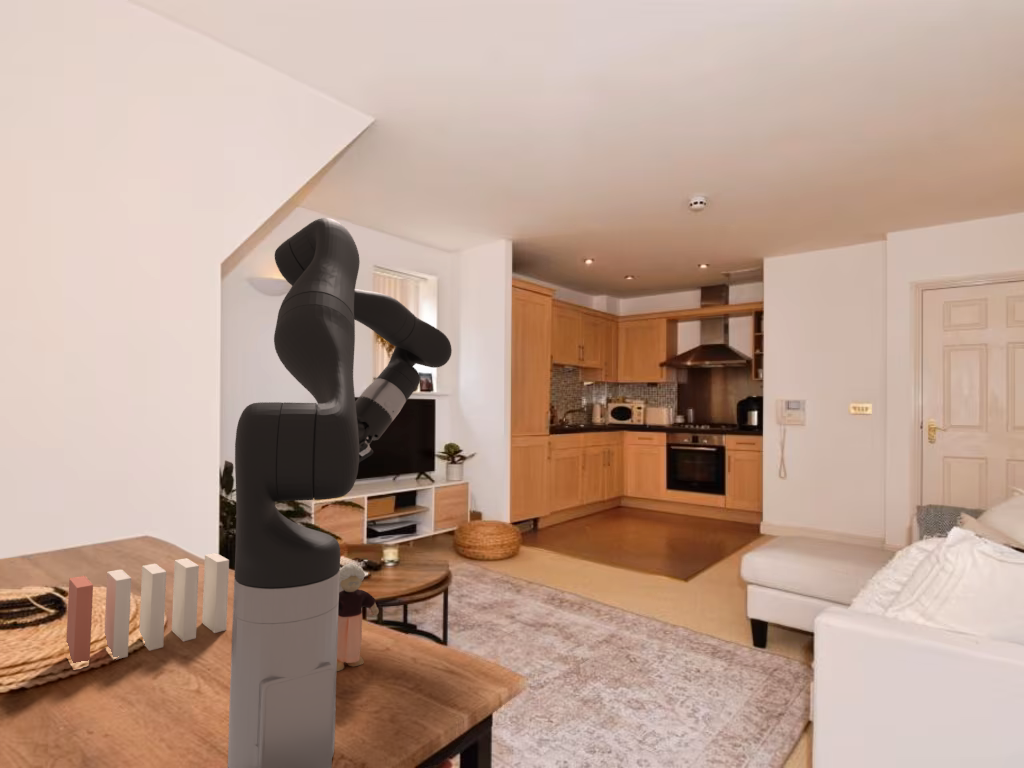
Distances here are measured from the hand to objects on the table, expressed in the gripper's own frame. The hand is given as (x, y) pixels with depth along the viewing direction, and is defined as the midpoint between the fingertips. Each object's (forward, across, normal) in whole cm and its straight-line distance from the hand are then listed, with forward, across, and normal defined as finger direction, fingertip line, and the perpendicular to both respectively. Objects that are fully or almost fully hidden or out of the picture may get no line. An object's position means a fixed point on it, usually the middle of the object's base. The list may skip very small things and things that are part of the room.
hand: (315, 484), depth 94 cm
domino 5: (+25, -1, -1) cm, 25 cm away
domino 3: (+30, -1, +5) cm, 30 cm away
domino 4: (+27, -1, +2) cm, 27 cm away
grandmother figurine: (+19, -25, -5) cm, 32 cm away
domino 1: (+35, 0, +11) cm, 37 cm away
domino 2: (+33, 0, +8) cm, 34 cm away
